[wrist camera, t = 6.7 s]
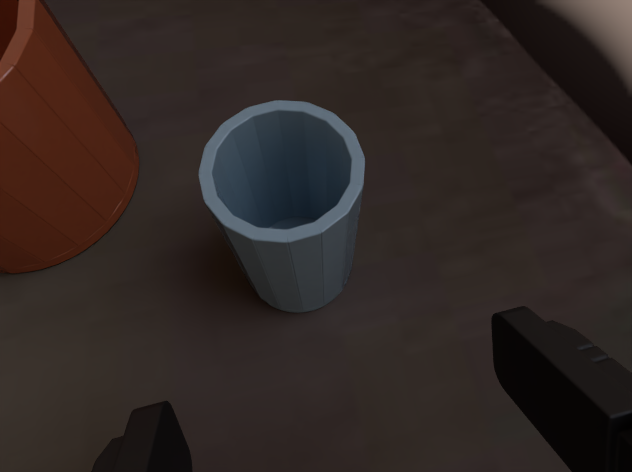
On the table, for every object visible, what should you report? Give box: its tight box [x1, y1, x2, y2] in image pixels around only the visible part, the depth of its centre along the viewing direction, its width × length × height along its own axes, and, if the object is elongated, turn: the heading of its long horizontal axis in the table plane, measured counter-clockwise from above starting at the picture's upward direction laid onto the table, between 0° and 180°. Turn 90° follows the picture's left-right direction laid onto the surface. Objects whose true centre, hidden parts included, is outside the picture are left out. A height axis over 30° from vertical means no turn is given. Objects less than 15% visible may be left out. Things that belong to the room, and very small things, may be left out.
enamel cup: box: [198, 100, 365, 313], centre depth 20 cm, size 6×6×10 cm
